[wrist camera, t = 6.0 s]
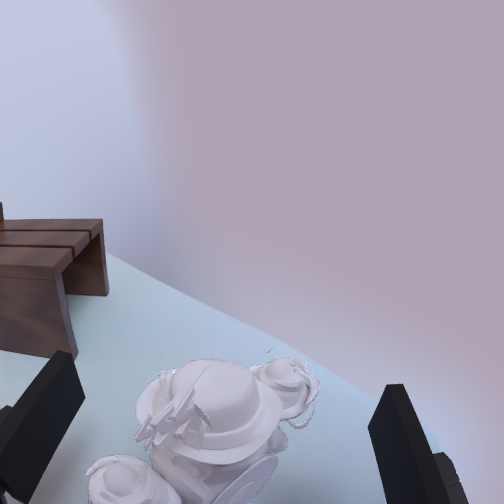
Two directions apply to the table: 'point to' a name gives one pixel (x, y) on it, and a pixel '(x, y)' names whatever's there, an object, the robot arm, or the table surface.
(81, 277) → the rack
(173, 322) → the table surface
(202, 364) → the hat wearing toy figure
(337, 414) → the table surface
